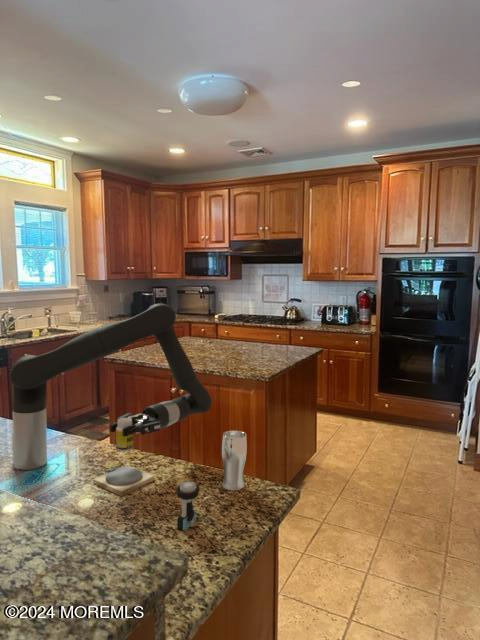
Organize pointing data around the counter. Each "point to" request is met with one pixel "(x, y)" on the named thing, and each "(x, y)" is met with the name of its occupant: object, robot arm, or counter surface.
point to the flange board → (123, 479)
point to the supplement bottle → (122, 441)
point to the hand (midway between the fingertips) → (117, 430)
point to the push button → (187, 504)
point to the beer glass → (234, 459)
